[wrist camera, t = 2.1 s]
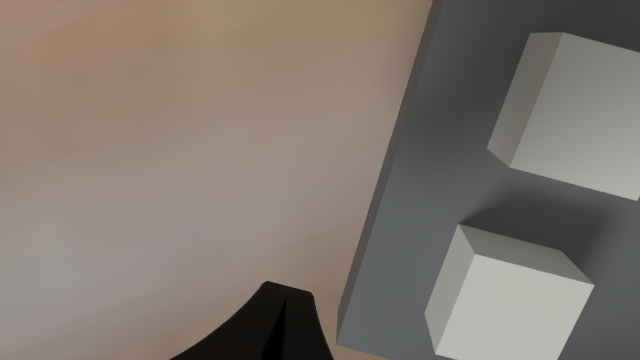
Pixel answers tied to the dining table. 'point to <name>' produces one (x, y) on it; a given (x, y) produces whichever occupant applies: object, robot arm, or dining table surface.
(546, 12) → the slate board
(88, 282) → the dining table surface
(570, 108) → the tile
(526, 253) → the tile
